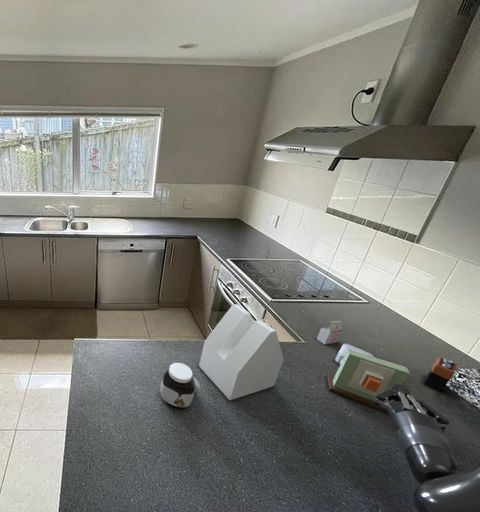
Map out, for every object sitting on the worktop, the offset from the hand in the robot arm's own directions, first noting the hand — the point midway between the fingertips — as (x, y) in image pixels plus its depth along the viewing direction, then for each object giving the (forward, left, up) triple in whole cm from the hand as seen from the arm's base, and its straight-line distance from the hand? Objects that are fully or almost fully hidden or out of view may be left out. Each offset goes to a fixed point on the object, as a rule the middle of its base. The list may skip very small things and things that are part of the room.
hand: (398, 386), depth 73 cm
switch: (0, -12, -12) cm, 17 cm away
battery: (-24, -40, -19) cm, 50 cm away
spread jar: (+50, +18, -19) cm, 57 cm away
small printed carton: (+6, -47, -19) cm, 51 cm away
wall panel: (0, -17, -19) cm, 25 cm away
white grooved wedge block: (+36, -2, -19) cm, 41 cm away
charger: (0, -33, -19) cm, 38 cm away
